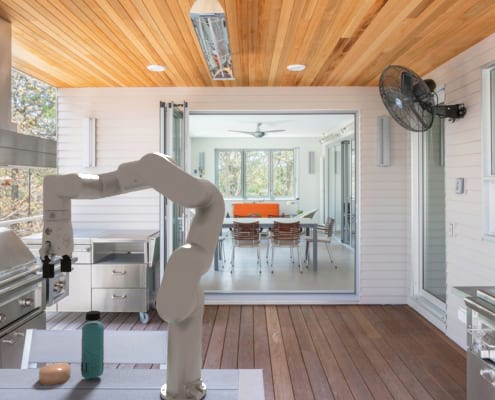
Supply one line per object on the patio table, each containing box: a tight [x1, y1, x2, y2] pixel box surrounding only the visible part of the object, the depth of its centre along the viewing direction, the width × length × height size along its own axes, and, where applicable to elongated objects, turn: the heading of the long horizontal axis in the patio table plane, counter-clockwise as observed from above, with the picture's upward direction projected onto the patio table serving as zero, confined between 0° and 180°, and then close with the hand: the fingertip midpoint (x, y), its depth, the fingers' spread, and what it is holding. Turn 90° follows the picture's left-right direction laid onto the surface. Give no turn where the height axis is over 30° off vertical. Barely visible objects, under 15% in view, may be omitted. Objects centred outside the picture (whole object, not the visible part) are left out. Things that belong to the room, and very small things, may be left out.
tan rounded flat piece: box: [38, 362, 72, 386], centre depth 119 cm, size 8×8×3 cm
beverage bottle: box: [80, 310, 105, 379], centre depth 119 cm, size 6×7×20 cm
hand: (57, 274), depth 118 cm, fingers open, 9 cm apart
